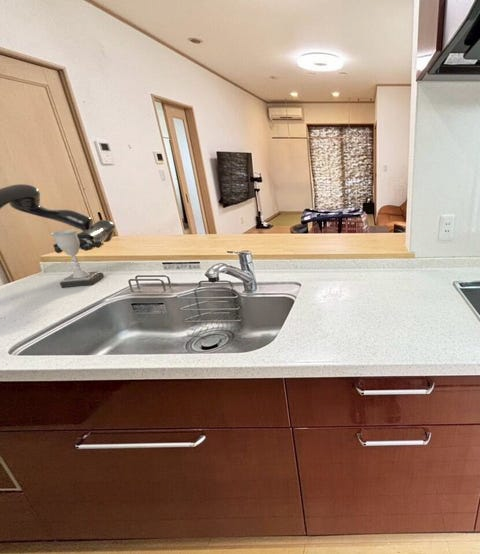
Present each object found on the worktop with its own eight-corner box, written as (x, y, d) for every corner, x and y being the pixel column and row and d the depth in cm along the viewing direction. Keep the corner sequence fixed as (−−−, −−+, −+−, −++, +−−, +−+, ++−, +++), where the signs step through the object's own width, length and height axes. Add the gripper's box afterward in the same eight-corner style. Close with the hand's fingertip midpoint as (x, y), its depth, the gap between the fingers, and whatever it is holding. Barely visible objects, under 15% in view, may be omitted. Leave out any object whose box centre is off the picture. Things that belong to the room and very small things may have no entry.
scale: (61, 288, 115) (58, 281, 114) (75, 279, 123) (73, 272, 122) (92, 285, 118) (89, 278, 117) (104, 277, 126) (101, 270, 125)
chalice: (92, 270, 124) (76, 228, 117) (94, 275, 120) (77, 231, 113) (68, 275, 119) (50, 231, 113) (69, 280, 115) (50, 235, 108)
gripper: (65, 232, 125) (43, 241, 111) (106, 229, 130) (90, 238, 116) (71, 249, 128) (51, 260, 114) (112, 245, 133) (97, 256, 119)
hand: (71, 249), depth 115 cm, fingers open, 8 cm apart
